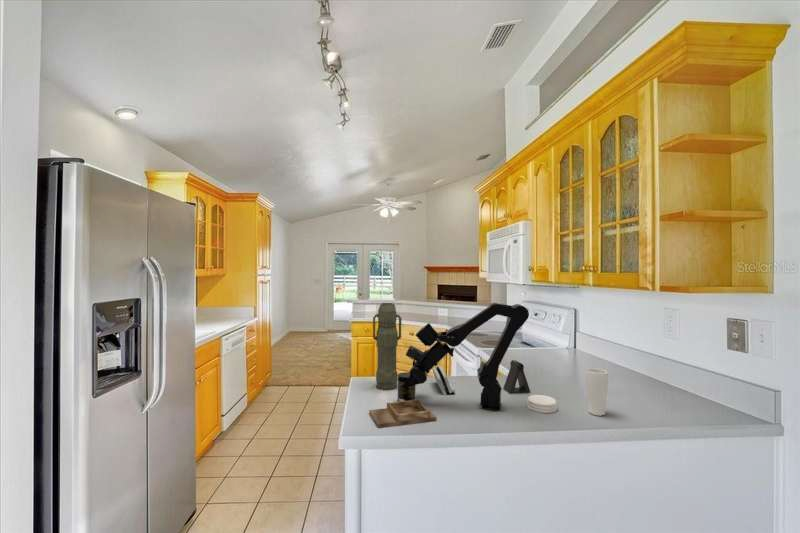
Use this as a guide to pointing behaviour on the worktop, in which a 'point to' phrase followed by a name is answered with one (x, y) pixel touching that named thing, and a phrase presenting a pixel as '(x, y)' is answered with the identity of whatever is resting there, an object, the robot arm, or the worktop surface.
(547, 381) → the worktop surface
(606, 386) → the drinking glass
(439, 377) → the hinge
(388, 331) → the thermos
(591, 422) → the worktop surface
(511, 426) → the worktop surface
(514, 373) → the phone stand
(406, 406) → the board
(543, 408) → the coaster
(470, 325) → the robot arm
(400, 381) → the supplement container
